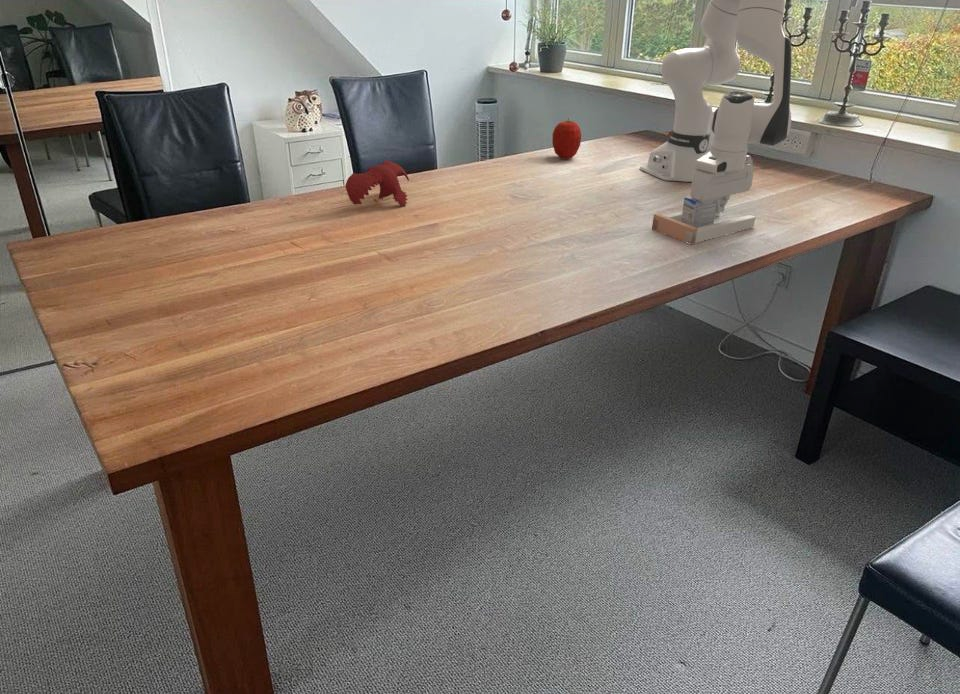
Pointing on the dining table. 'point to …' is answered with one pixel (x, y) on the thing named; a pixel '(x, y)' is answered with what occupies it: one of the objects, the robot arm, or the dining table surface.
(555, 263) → the dining table surface
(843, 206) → the dining table surface
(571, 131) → the apple
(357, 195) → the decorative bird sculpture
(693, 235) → the shallow open rectangular tray
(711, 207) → the medicine box
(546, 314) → the dining table surface
